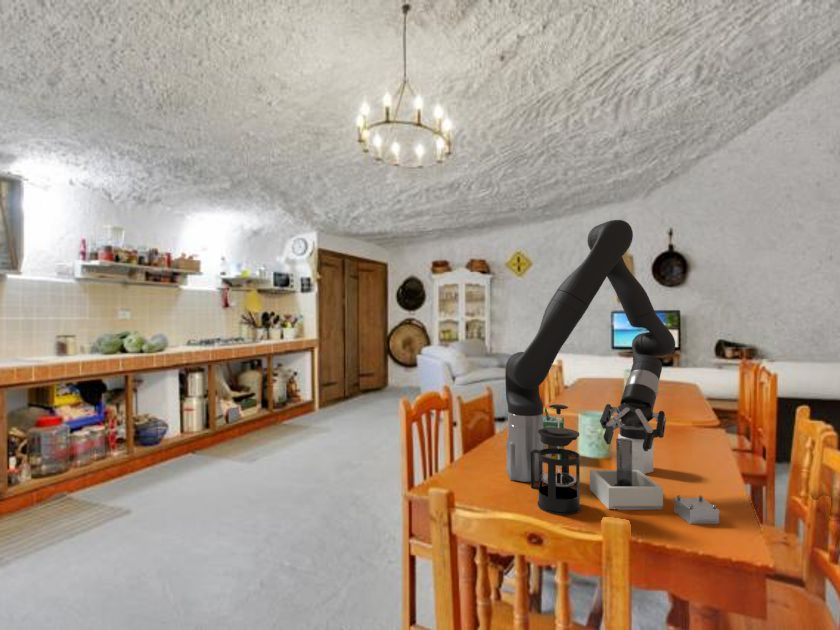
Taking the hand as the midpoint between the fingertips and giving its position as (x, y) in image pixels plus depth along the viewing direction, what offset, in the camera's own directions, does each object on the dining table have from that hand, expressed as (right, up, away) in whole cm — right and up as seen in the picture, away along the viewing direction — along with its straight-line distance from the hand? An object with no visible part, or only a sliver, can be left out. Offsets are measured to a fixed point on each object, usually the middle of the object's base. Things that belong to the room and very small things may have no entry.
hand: (625, 445), depth 110 cm
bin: (-1, -12, -1) cm, 12 cm away
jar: (+11, -12, +20) cm, 26 cm away
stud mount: (+10, -12, -11) cm, 19 cm away
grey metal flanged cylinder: (-1, -11, -1) cm, 11 cm away
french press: (-18, -13, -5) cm, 22 cm away
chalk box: (-9, -12, +32) cm, 36 cm away
